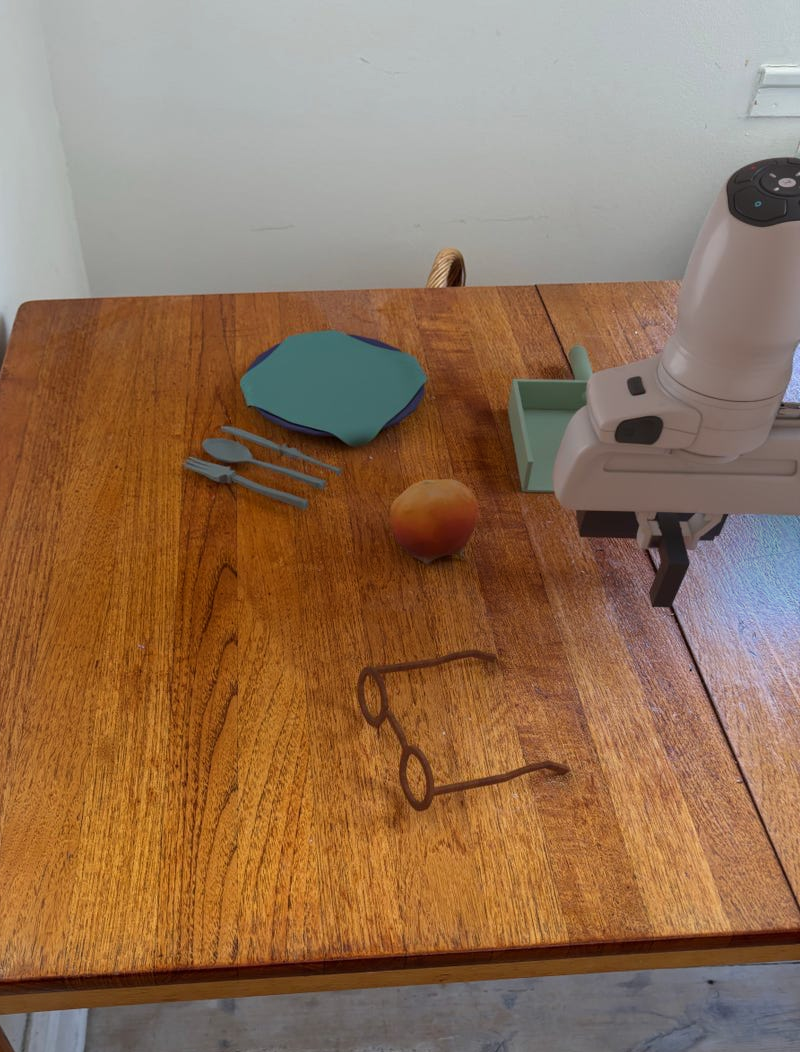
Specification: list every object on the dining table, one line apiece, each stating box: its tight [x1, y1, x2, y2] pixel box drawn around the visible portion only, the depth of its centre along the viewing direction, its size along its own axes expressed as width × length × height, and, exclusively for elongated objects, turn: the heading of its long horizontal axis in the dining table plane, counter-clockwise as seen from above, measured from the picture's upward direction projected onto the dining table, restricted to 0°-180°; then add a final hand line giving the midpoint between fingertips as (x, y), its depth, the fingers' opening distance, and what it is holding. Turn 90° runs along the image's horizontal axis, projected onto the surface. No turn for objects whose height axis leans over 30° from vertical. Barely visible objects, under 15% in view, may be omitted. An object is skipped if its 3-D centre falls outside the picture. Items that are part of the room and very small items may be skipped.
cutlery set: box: [181, 329, 430, 511], centre depth 112 cm, size 20×30×2 cm, turn 149°
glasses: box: [356, 648, 571, 812], centre depth 81 cm, size 13×13×5 cm
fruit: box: [390, 478, 480, 567], centre depth 97 cm, size 8×8×8 cm
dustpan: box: [507, 344, 594, 494], centre depth 111 cm, size 24×17×4 cm
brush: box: [575, 510, 730, 609], centre depth 87 cm, size 10×12×5 cm
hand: (664, 544), depth 86 cm, fingers closed on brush
